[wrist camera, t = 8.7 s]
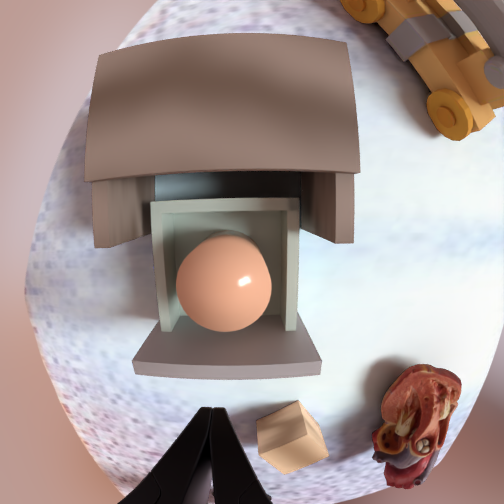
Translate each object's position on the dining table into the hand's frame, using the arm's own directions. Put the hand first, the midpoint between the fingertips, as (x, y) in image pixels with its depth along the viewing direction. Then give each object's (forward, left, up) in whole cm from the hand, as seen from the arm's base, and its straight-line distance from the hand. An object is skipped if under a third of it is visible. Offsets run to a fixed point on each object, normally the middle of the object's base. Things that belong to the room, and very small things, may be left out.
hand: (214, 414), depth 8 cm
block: (-4, -16, -14) cm, 22 cm away
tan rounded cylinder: (+1, +2, -13) cm, 13 cm away
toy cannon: (+33, +10, -14) cm, 37 cm away
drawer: (+1, +2, -14) cm, 14 cm away
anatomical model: (+8, -24, -14) cm, 29 cm away
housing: (+6, +9, -14) cm, 17 cm away
